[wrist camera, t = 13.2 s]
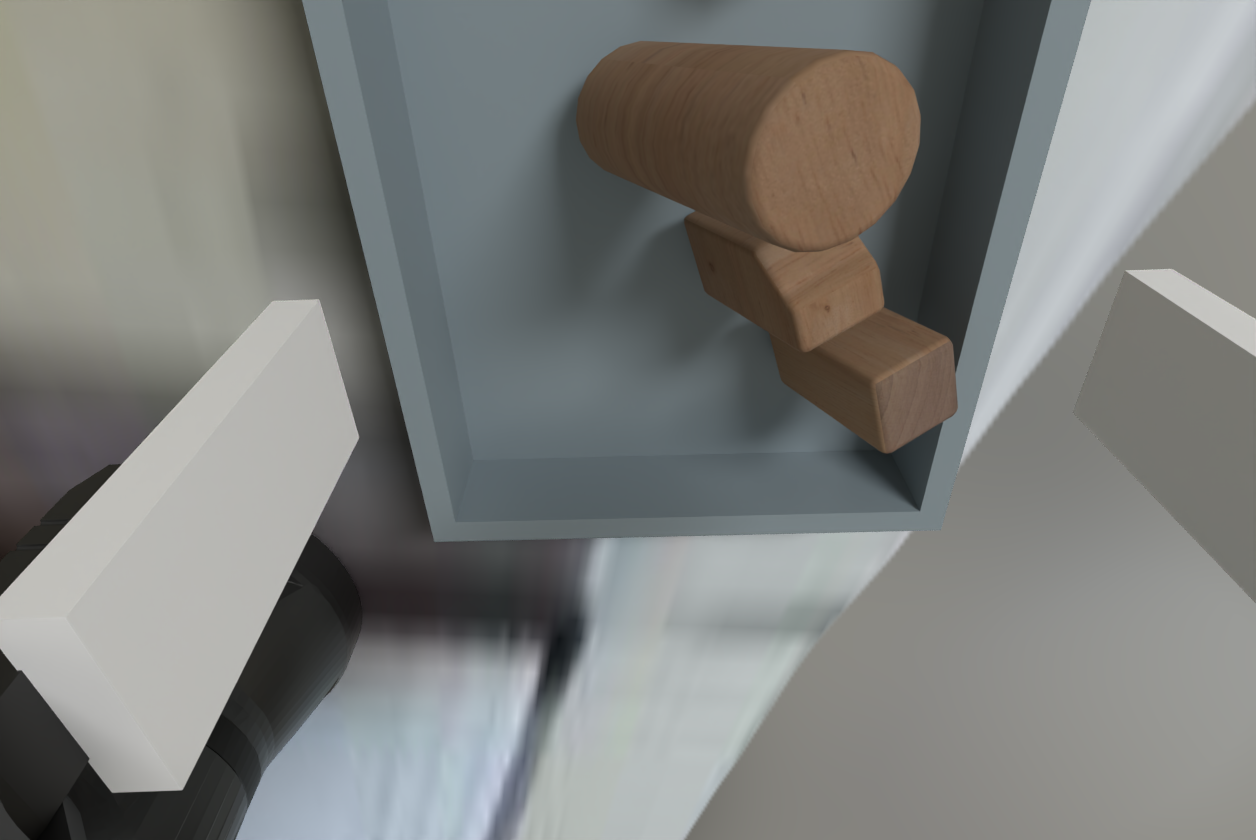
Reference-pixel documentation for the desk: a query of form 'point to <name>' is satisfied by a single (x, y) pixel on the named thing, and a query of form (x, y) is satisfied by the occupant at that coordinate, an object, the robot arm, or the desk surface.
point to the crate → (658, 262)
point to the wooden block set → (785, 208)
